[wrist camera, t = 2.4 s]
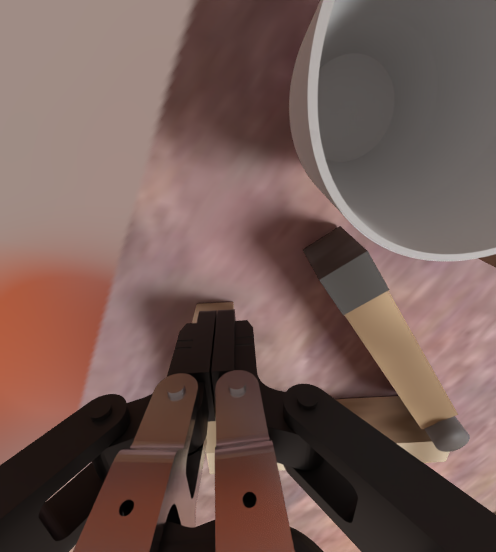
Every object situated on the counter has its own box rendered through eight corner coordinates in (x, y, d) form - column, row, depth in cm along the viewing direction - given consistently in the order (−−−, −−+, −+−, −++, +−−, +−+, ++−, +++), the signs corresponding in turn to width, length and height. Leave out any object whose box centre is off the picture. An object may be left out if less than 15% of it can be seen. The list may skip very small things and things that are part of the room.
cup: (456, 107, 15) (793, 62, 6) (334, 221, 17) (438, 315, 8) (359, -42, 12) (695, -541, 3) (234, 117, 15) (224, 89, 6)
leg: (340, 226, 17) (373, 256, 13) (432, 385, 23) (476, 442, 19) (302, 250, 18) (323, 286, 13) (402, 399, 24) (438, 456, 20)
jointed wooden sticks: (529, 208, 17) (606, 227, 14) (449, 413, 25) (484, 459, 22) (185, 225, 17) (170, 249, 14) (214, 425, 25) (209, 474, 21)
